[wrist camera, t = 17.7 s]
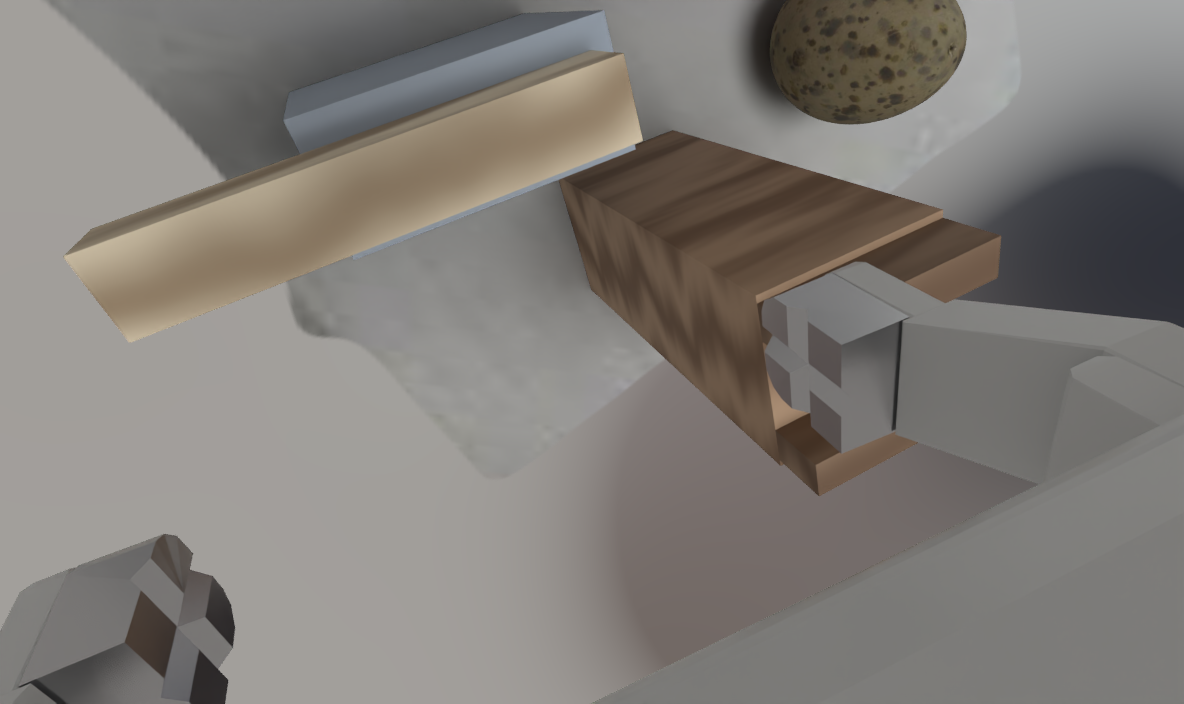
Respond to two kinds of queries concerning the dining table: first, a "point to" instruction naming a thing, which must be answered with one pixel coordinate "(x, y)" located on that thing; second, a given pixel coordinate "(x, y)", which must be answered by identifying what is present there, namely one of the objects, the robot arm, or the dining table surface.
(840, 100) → the decorative egg
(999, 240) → the walnut stand
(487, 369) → the dining table surface
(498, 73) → the slate block
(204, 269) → the maple bar
